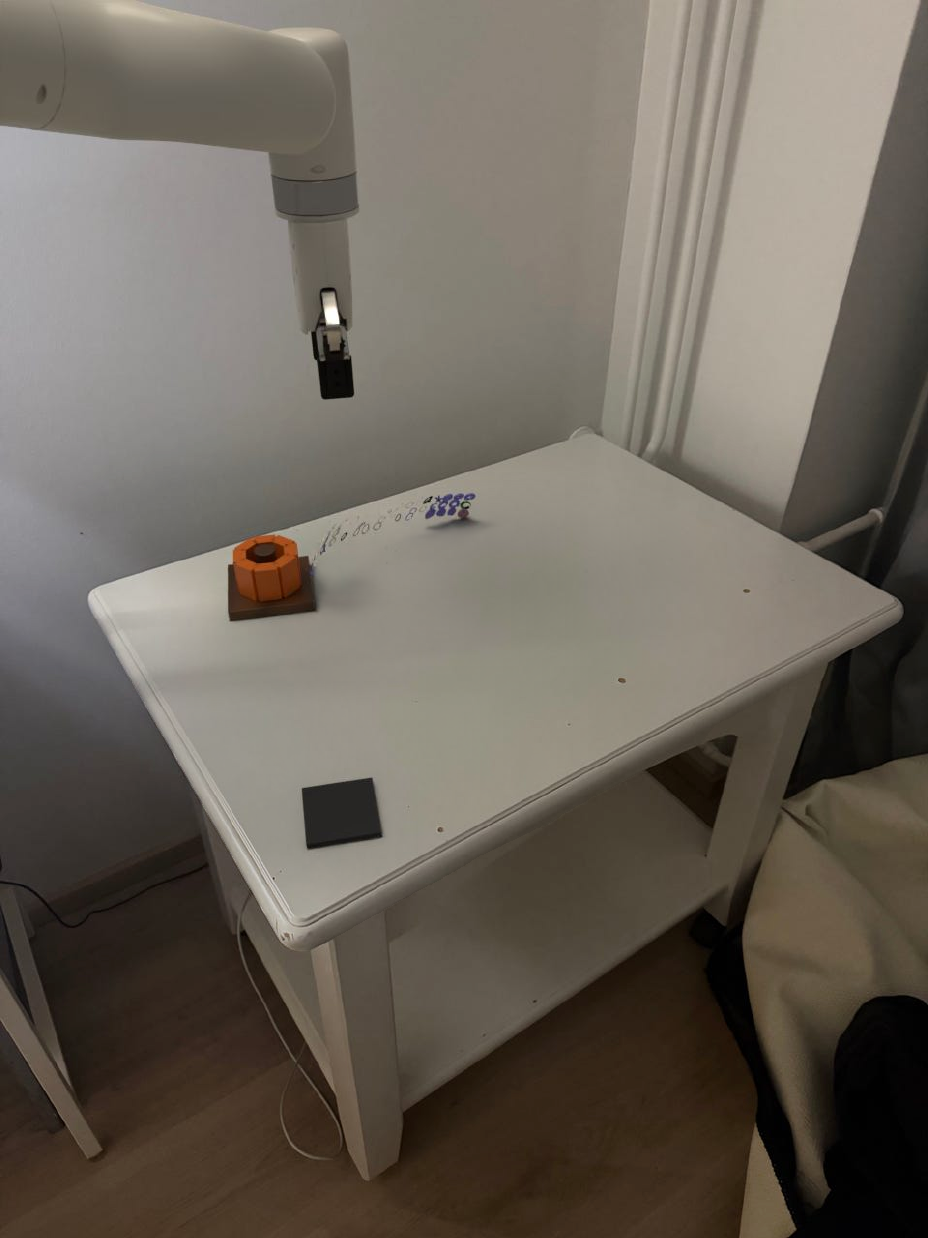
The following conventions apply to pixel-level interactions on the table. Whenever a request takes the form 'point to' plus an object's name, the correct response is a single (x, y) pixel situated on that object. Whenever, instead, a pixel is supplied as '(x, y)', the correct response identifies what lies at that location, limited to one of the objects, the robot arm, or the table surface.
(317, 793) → the mat
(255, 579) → the orange octagonal tube
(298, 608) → the rack
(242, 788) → the table surface
